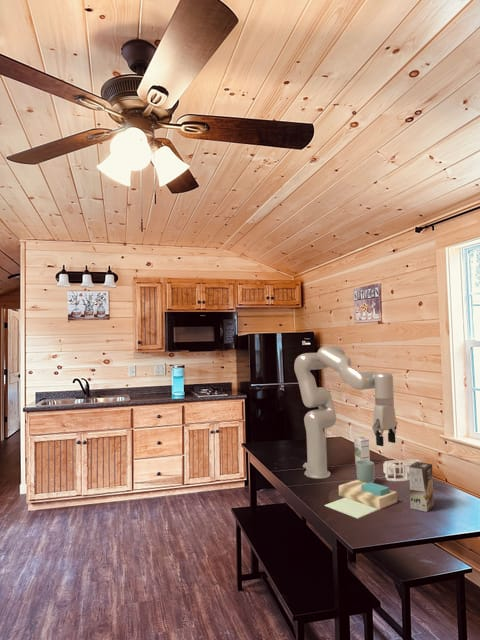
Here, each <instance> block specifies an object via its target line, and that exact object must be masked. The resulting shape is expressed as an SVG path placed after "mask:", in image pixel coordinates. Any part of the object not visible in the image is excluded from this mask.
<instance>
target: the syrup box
mask: <svg viewBox="0 0 480 640" xmlns="http://www.w3.org/2000/svg"><path fill="white" fill-rule="evenodd" d="M353 444H354V466H356V462H357V461H359V460H369V461H371V458H370V457H371V455H370V453H371V452H370V438H368V437H365V436H356V437H353Z"/></svg>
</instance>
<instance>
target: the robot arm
mask: <svg viewBox="0 0 480 640" xmlns="http://www.w3.org/2000/svg"><path fill="white" fill-rule="evenodd" d="M351 366H352V359H351V358H350V357H349V356H347V355H346V353H345V350H344V348H343V347H341V346H339V345H325V346H321V347H320V348H319V349H318V350H317V352H305V353H302V354H300V355H298V356H297V357H296V358H295V360H294V366H293V367H294V368H293V369H294V373H295V376H296V379H297V381H298V386H299V390H300V391H299V392H300V396H301V400H302V403H303V404H304V406H305V407H306V408H317V407H318V409H313V410H309V411H307V413H306V414H305V415H304V418H303V421H304V422H303V423H304V428H305V432H306V433H305V434H306V455H307V462H304V464H303V465H302V468H305V469H306V470H305V471H304V476H305V475H306V477H307V478H311V479H316V480H317V479H327V478H329V477H331V472H330V471H329V470H328V455H327V454H328V453H327V452H328V451H327V449H328V448H327V437H326V434H325V432H324V429H327V428H331V427H333V426H334V425H335V424H336V423H337V413H336V410H335V405H334V401H333V397H332V395H331V392H330V391H329V389H327V388H325V387H321V386H320V387H318V386H317V382H316V378H315V376H314V375H313V374H312V373H311V370H312V371H313V370H314V371H315V370H323V369H327V368H331V369H332V370H333V371H335V372H337V373H338V375H339V377H340V378H341V379H342V381H343V382H344V383H345V384H347V385H348V386H350V387H352V388H353V389H355V390H360V391H364V390H373V389H374V402H375V405H374V406H373V407H374V408H373V418H372V419H373V421H372V424H373V425H372V431H373V433H374V436H375V444H376V446H378V447H384V444H385V443H384V436H383V435H384V431H388V432H387V439H388V440H387V441H388V443H392V444H395V443H396V433H397V431H396V430H397V427H398V424H399V423H398V421H397V420H396V410H395V399H394V394H395V393H394V376H393V374H392V373H389V372H379V371H378V372H377V371H361V372H360V371H358V370H356V369H354V368H352V367H351Z"/></svg>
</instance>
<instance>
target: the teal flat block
mask: <svg viewBox="0 0 480 640" xmlns="http://www.w3.org/2000/svg"><path fill="white" fill-rule="evenodd" d="M361 488H362V490H363V491H366V492H369V493H372V494H375V495H378V496H382V495H385V494H387V493H389V490H390V487H388V486H385V485H382V484H378V483H372V482H369V483H366V484H363V485H361Z"/></svg>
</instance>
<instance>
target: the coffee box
mask: <svg viewBox="0 0 480 640" xmlns="http://www.w3.org/2000/svg"><path fill="white" fill-rule="evenodd" d="M408 476H409V478H410V480H409V499H410V503H409V504H410V506H409V507H410V509H412V510H416V511H420V512H425V513H427V512H428V511H429V510H430V509H431V508H432V507H433V506H434V503H435V502H434V483H433V481H434V480H433V477H434V476H433V464H432V463H426V462H422V463H420V462H416V463H414V464H412V465H411V466H409V475H408Z"/></svg>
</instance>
